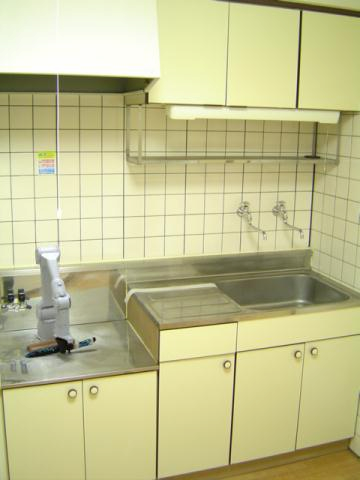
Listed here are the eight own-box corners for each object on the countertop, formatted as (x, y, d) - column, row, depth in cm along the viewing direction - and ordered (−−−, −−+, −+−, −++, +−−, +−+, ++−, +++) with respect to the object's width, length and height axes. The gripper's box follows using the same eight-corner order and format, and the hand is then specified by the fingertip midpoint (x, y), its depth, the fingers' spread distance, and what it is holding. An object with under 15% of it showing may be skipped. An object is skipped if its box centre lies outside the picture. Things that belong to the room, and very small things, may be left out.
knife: (97, 346, 238) (95, 336, 238) (97, 346, 235) (95, 336, 235) (26, 362, 230) (24, 351, 230) (26, 363, 227) (24, 352, 227)
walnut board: (26, 349, 236) (26, 344, 236) (67, 338, 249) (67, 334, 248) (33, 354, 231) (33, 350, 231) (75, 343, 244) (75, 339, 243)
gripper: (46, 320, 231) (46, 349, 234) (61, 330, 220) (62, 361, 223) (61, 316, 236) (61, 345, 238) (77, 326, 225) (77, 357, 227)
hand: (63, 353), depth 231 cm, fingers closed, pressing on knife
